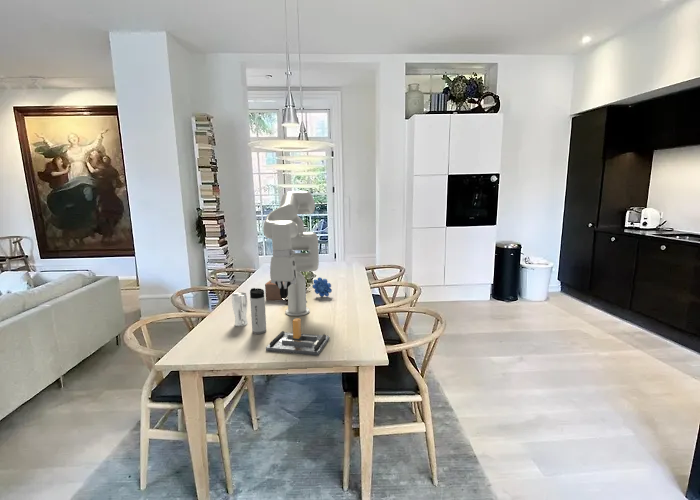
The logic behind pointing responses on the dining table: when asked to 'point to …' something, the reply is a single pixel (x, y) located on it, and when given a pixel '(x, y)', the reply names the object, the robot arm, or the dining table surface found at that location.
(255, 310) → the travel mug
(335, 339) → the dining table surface
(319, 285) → the blue lobed wheel
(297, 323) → the lever
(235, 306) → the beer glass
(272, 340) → the tray
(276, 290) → the tissue box cover
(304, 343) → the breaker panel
